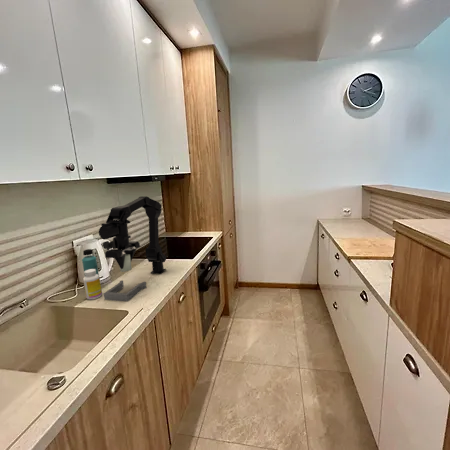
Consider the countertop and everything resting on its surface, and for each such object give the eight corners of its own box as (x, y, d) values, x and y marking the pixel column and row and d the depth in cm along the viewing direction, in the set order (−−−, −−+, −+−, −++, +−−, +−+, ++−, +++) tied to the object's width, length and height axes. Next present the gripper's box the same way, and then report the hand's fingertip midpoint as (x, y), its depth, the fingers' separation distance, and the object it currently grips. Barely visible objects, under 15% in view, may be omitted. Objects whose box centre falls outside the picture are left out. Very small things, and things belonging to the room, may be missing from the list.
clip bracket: (121, 285, 131) (121, 280, 130) (146, 287, 127) (146, 281, 127) (102, 299, 117) (101, 293, 117) (129, 301, 114) (129, 295, 113)
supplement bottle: (105, 295, 122) (101, 269, 119) (92, 301, 116) (87, 274, 113) (96, 292, 125) (92, 267, 122) (83, 298, 119) (78, 272, 117)
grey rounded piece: (124, 267, 126) (122, 253, 125) (133, 268, 125) (132, 254, 123) (117, 271, 121) (115, 256, 120) (127, 271, 120) (125, 257, 118)
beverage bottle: (85, 292, 126) (78, 252, 122) (88, 286, 132) (81, 248, 128) (99, 289, 127) (93, 250, 123) (102, 284, 134) (96, 247, 130)
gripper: (119, 230, 130) (122, 259, 133) (92, 238, 113) (97, 273, 116) (138, 230, 128) (142, 260, 131) (114, 239, 110) (118, 274, 113)
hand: (125, 266), depth 122 cm, fingers closed on grey rounded piece, 5 cm apart
